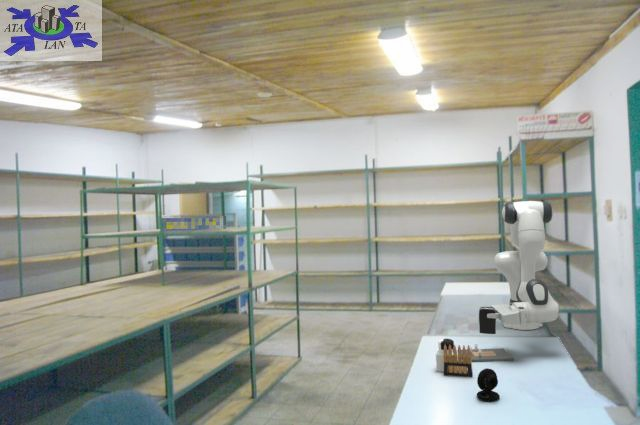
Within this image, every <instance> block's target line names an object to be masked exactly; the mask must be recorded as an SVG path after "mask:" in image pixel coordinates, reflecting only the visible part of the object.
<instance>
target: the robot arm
mask: <svg viewBox="0 0 640 425" xmlns="http://www.w3.org/2000/svg"><path fill="white" fill-rule="evenodd" d="M553 216H554V210H553V207H552V204H551V203H550V202H548V201H544V200H542V201H538V200H527V201H526V200H523V201H522V200H521V201H515V202H513V201H509V202H506V203H505V204H504V205H503V207H502V210H501V217H502V218H503V221H504V222H505V223H506V224H509V225H510V235H509V236H510V238H509V240H510V242H511V244H512V245H513V246H515V247H516V248H518V249H519V250H506V251H502V252H498V253H496V255H495V256H494V259H493V265H494V268H495V269H496V270H497V272H499V273H501V274H502V275H503V276H504V277H505V279H506V281H507V283H508V286H509V291H510V292H509V293H510V295H509V296H510V298H509V304H492V305H490V307H493V308H495V311H496V313H487V314H486V315H487V318H494V319H496V320H497V319H498V320H499V321H500V322H501V323H503V327H504V328H508V329H513V330H519V331H522V330H523V331H531V330H532V331H533V330H537V329H539V328H541V327H543V323H549V322H554V321H556V320H557V319H558V317H559V315H560V305H559V303H558V302H557V301H556V300H555V299H554V298H553V297H552V295H551V293H550V291H549V288H548V285H547V284H546V282H544V281H543V280H542V279H539V278H536V272H540V271H543V270H545V269H546V268H547V266H548V262H549V261H548V260H549V259H548V256H547V255H546V253H545V252H544V251H543V250H544V248H545V244H546V231H545V229H546V228H545V224H548V223H550V222H551V221H552V218H553Z"/></svg>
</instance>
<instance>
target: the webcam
mask: <svg viewBox="0 0 640 425" xmlns="http://www.w3.org/2000/svg"><path fill="white" fill-rule="evenodd" d="M476 383H477V387H478V388H479V389H480V390H479V391H478V392H477V393H476V398H477V399H478V400H480V401H483V402H489V403H490V402H491V403H492V402H496V401H499V400H500V394H499V393H498V392H496V391H493V390H494V389H495V388H497V386H498V384H499V379H498V375H497V372H495V370H494V369H491V368H484V369H482V370H481V371H480V372H479V373H478V375H477V379H476ZM484 395H486V396H484Z"/></svg>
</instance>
